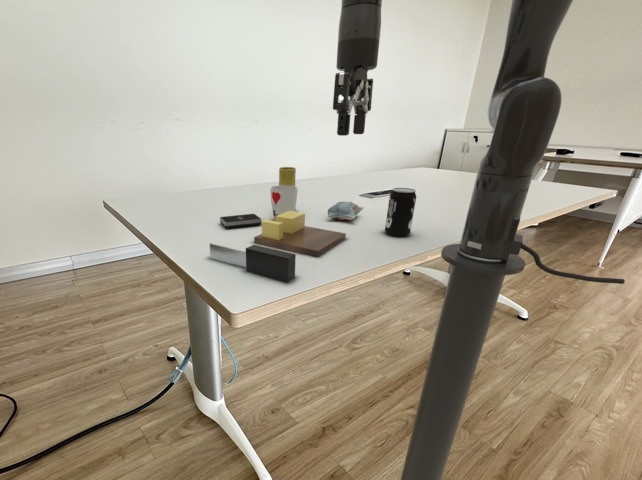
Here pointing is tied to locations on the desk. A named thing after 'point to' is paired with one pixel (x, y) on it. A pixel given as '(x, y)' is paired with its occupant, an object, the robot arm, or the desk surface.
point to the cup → (283, 199)
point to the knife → (258, 260)
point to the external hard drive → (240, 221)
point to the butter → (291, 221)
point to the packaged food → (344, 211)
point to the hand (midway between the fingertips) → (351, 134)
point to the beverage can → (400, 212)
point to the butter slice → (272, 229)
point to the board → (305, 241)
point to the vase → (287, 176)
